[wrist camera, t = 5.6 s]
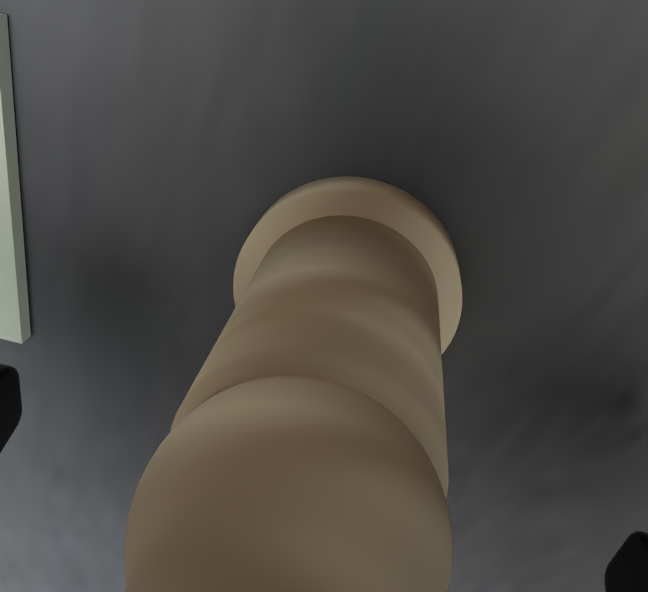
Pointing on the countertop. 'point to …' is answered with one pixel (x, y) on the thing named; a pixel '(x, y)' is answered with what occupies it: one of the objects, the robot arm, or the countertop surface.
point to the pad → (10, 211)
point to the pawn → (314, 411)
